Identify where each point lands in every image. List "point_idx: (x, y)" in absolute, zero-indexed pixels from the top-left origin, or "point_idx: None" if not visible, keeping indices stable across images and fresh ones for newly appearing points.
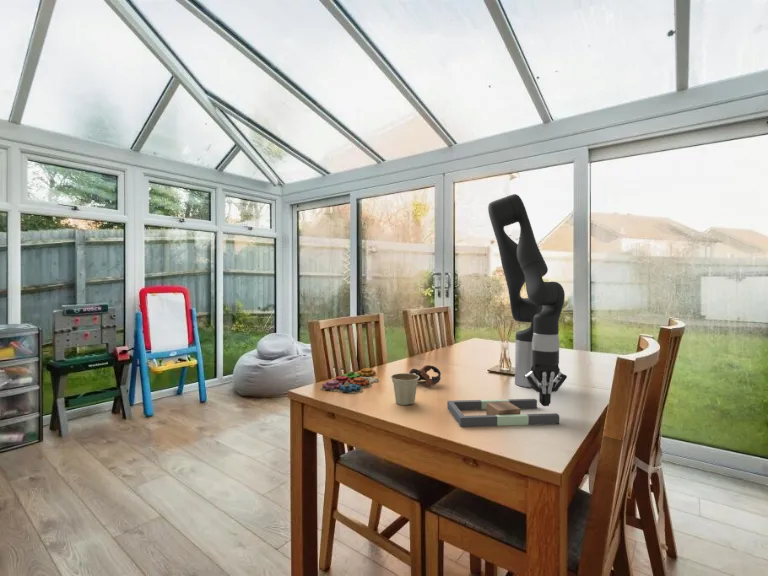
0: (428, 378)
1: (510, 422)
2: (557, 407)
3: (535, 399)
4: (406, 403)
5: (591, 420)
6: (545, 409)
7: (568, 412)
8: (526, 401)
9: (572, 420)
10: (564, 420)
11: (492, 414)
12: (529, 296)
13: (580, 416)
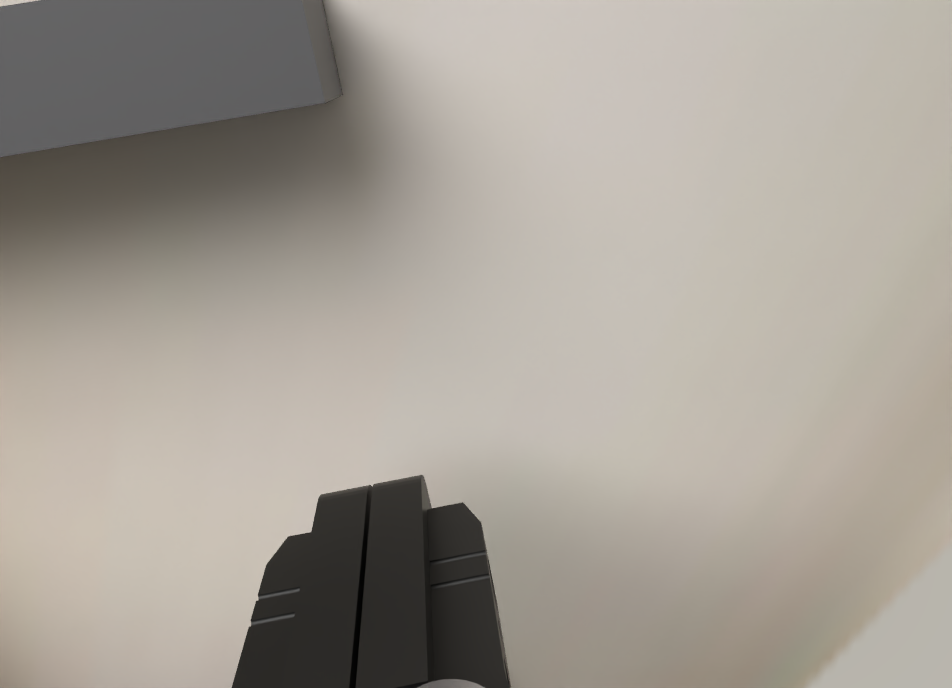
0: None
1: None
2: (775, 10)
3: (295, 35)
4: None
5: (933, 548)
6: (490, 162)
7: (820, 282)
8: (46, 147)
9: (695, 581)
10: (592, 595)
11: None
12: None
13: (891, 432)
